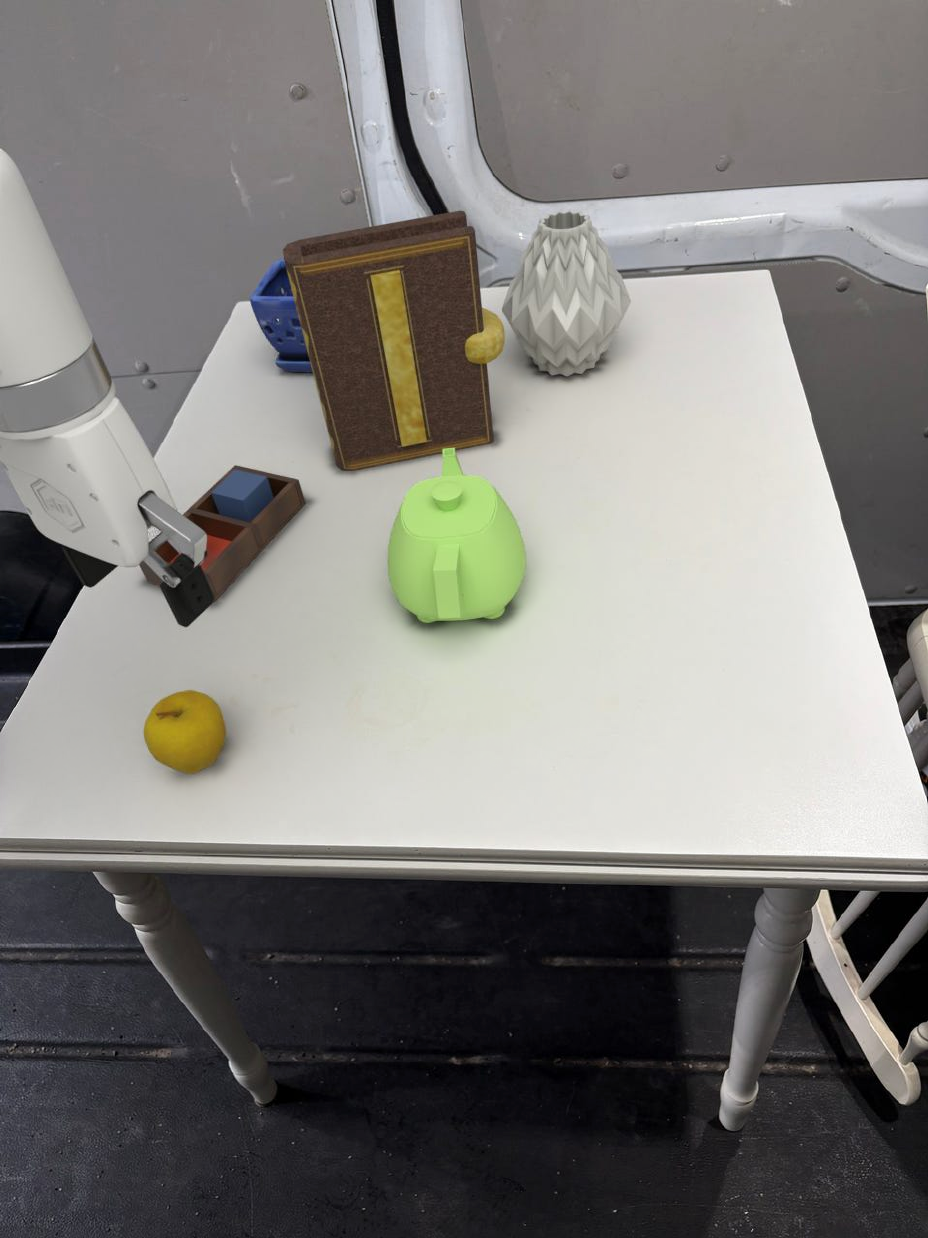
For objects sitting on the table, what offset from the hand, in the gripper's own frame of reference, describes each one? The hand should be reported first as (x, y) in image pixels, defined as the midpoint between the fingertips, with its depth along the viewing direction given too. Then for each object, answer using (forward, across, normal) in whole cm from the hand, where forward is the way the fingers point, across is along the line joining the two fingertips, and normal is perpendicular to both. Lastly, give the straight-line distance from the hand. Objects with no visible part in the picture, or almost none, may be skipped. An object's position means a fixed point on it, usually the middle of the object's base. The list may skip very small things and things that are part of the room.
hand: (148, 593), depth 61 cm
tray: (+18, -18, +21) cm, 33 cm away
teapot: (+18, +10, +25) cm, 33 cm away
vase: (+18, +1, +70) cm, 72 cm away
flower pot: (+18, -33, +60) cm, 70 cm away
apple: (+18, 0, -2) cm, 18 cm away
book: (+18, -8, +46) cm, 50 cm away
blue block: (+18, -18, +26) cm, 36 cm away
